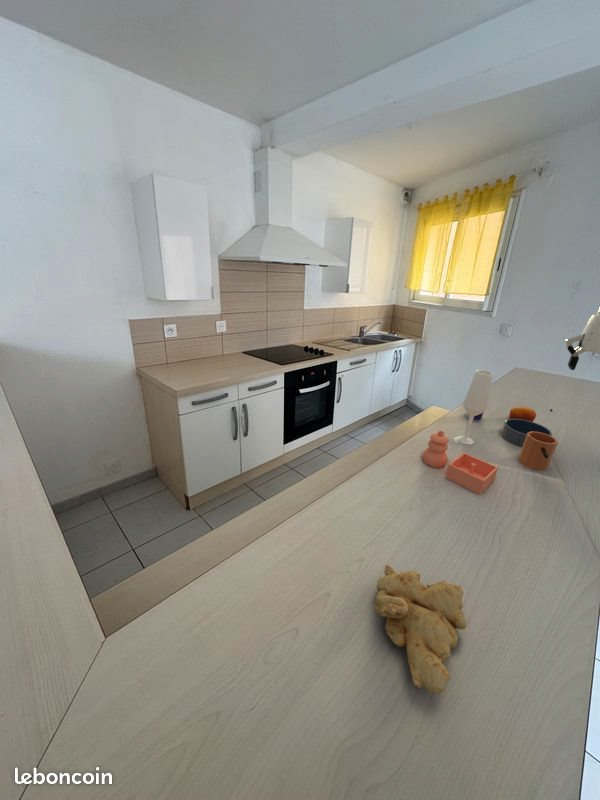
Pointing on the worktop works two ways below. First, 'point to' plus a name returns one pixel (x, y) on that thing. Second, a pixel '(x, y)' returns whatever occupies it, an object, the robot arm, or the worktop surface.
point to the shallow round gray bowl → (520, 430)
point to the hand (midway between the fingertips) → (591, 371)
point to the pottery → (459, 465)
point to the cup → (537, 450)
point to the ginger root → (421, 623)
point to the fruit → (522, 413)
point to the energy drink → (475, 417)
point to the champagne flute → (476, 400)
